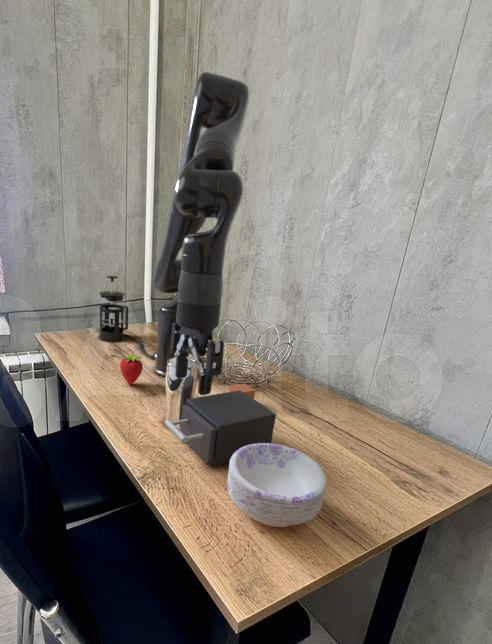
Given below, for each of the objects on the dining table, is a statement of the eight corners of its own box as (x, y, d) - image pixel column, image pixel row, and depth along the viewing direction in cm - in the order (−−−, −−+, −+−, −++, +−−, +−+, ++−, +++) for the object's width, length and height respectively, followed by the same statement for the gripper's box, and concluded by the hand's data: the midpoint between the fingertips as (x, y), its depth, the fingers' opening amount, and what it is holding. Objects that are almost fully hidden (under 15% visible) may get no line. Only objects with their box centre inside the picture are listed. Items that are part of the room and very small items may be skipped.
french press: (103, 343, 144) (103, 278, 135) (93, 336, 151) (92, 274, 143) (132, 339, 150) (134, 277, 142) (121, 333, 157) (122, 273, 149)
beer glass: (190, 432, 88) (196, 369, 83) (159, 427, 89) (163, 365, 84) (194, 418, 94) (200, 358, 89) (166, 414, 96) (169, 355, 90)
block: (227, 401, 104) (229, 385, 102) (242, 399, 106) (244, 383, 104) (238, 409, 100) (240, 392, 98) (253, 406, 102) (255, 390, 100)
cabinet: (214, 468, 76) (219, 426, 73) (183, 437, 86) (186, 399, 83) (269, 453, 82) (276, 414, 79) (234, 426, 92) (239, 390, 89)
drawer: (185, 469, 74) (188, 435, 71) (159, 440, 83) (161, 408, 80) (259, 450, 81) (264, 418, 79) (228, 425, 90) (232, 396, 88)
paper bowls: (259, 553, 57) (267, 509, 54) (208, 489, 70) (212, 450, 67) (338, 527, 63) (350, 485, 60) (278, 472, 76) (285, 435, 73)
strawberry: (135, 378, 115) (136, 345, 111) (146, 388, 109) (147, 353, 105) (115, 380, 112) (116, 347, 109) (125, 391, 106) (126, 356, 103)
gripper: (242, 306, 64) (230, 397, 70) (196, 290, 76) (190, 369, 82) (202, 308, 61) (194, 404, 67) (161, 291, 73) (157, 374, 78)
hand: (191, 385), depth 74 cm, fingers open, 8 cm apart
